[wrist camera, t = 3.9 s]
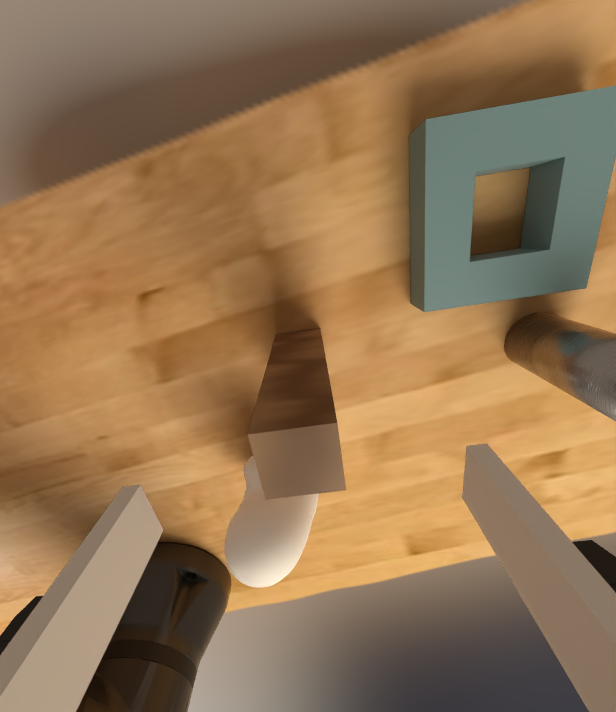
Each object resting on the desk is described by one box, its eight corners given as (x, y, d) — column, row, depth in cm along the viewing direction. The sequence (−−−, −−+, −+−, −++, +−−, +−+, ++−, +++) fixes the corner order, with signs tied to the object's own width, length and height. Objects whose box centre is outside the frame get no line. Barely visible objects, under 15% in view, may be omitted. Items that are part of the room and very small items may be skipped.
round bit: (501, 368, 27) (605, 435, 18) (507, 317, 25) (626, 362, 16) (555, 360, 27) (689, 423, 18) (565, 308, 25) (720, 349, 16)
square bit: (283, 374, 27) (265, 499, 14) (275, 334, 26) (247, 434, 13) (325, 368, 27) (346, 490, 14) (320, 328, 25) (337, 422, 12)
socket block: (410, 303, 25) (424, 312, 22) (408, 135, 20) (425, 119, 17) (553, 282, 24) (586, 288, 21) (585, 104, 20) (632, 82, 17)
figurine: (250, 427, 29) (219, 542, 18) (323, 437, 30) (335, 555, 19) (243, 478, 32) (212, 606, 21) (310, 487, 33) (313, 616, 22)
